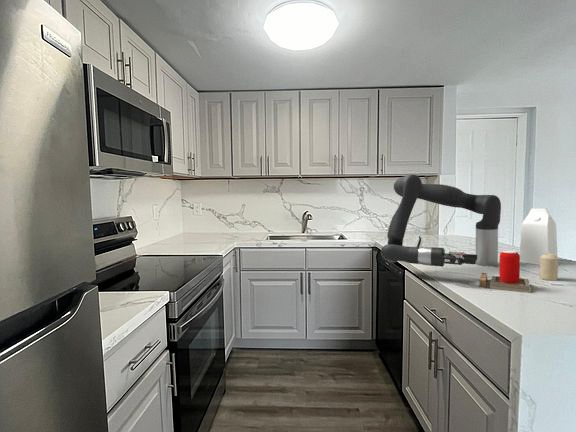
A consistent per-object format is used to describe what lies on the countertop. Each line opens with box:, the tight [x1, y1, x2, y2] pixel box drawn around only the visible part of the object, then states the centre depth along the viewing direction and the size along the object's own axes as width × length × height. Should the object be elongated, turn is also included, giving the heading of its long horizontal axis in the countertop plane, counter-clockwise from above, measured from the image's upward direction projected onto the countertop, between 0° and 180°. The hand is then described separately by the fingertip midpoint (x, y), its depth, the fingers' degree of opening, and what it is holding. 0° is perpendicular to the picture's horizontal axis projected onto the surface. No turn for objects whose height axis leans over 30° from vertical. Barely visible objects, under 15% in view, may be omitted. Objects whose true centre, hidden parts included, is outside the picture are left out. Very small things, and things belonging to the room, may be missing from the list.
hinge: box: [406, 234, 424, 247], centre depth 212 cm, size 17×5×10 cm, turn 169°
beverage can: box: [498, 249, 521, 284], centre depth 125 cm, size 6×6×12 cm
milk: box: [519, 208, 558, 266], centre depth 164 cm, size 12×12×26 cm
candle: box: [539, 253, 559, 281], centre depth 134 cm, size 6×6×10 cm
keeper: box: [489, 275, 532, 294], centre depth 125 cm, size 12×12×2 cm
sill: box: [478, 272, 488, 289], centre depth 131 cm, size 14×2×2 cm, turn 148°
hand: (476, 259), depth 131 cm, fingers open, 8 cm apart
